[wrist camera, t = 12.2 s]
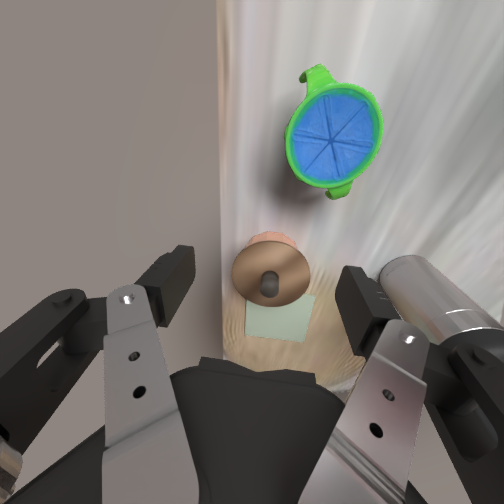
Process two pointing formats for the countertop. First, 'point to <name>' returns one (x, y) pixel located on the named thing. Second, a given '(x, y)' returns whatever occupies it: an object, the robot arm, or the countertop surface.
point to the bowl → (272, 238)
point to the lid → (271, 273)
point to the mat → (280, 319)
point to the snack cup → (332, 133)
